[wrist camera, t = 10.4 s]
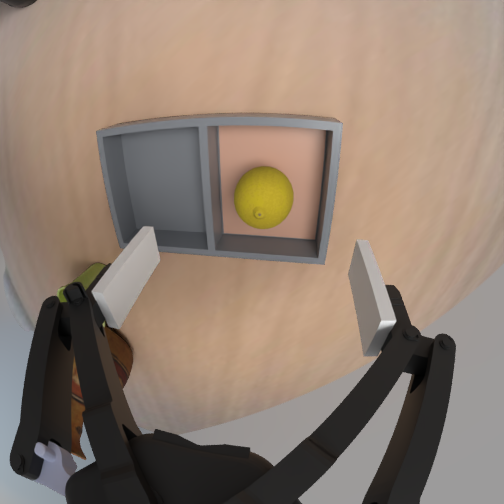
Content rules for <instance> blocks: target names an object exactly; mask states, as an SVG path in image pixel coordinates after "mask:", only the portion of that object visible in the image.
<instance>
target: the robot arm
mask: <svg viewBox="0 0 504 504" xmlns="http://www.w3.org/2000/svg"><path fill="white" fill-rule="evenodd" d="M35 1H36V0H0V2H3V3H6V4H8V5H9V6H12V7H25V6H28V5H30V4H32V3H33V2H35ZM159 262H160V256H159V251H158V247H157V242H156V238H155V233H154V228H153V227H150V226H143V227H142V228H141V230H140V231H139V232H138V233H137V234H136V235H135V237H134V238H133V239H132V240H131V241H130V243H129V244H128V245H127V246H126V247H125V249H124V250H123V251H122V252H121V254H120V255H119V256H118V257H117V259H116V260H115V261H114V262H113V264H111V263H109V264H108V265H107V266H105V267H104V268H103V269H102V270H101V271H100V273H99V275H97V276H96V278H95V279H94V280H93V282H92V283H91V284H90V285H89V287H88V288H87V289H86V291H85V289H84V287H83V284H82V283H81V282H73V283H71V284H69V285H67V286H66V287H65V289H64V290H63V295H64V297H65V299H66V300H67V302H60V300H59V298H58V297H57V296H51V297H49V298H47V299H46V300H45V301H44V302H43V304H42V307H41V310H40V313H39V317H38V320H37V324H36V328H35V332H34V336H33V340H32V344H31V349H30V354H29V358H28V363H27V369H26V375H25V381H24V389H23V397H22V405H21V418H20V424H19V427H18V430H17V434H16V436H15V440H14V443H13V446H12V450H11V453H10V465H11V467H12V469H13V470H14V471H15V472H16V473H17V474H19V475H21V476H23V477H25V478H28V479H30V480H32V481H35V482H37V483H40V484H42V485H45V486H47V487H49V488H50V489H52V490H54V491H56V492H58V493H59V494H61V495H63V496H65V497H66V501H67V504H302V503H301V502H300V501H299V499H298V498H299V497H300V496H301V495H302V494H303V493H304V492H305V491H307V490H308V489H309V488H310V487H311V486H312V485H313V484H314V483H315V482H316V481H317V480H318V479H319V478H320V477H321V476H322V475H323V474H324V473H325V472H326V471H327V470H328V469H329V468H330V467H331V466H332V465H333V464H334V463H335V461H336V460H337V458H338V457H339V456H340V455H341V454H342V453H343V452H344V450H345V449H346V448H347V447H348V446H349V445H350V443H351V442H352V441H353V440H354V439H355V438H356V436H357V435H358V434H359V433H360V432H361V430H362V429H363V428H364V427H365V425H366V424H367V423H368V421H369V420H370V419H371V417H372V416H373V415H374V413H375V412H376V410H377V409H378V408H379V407H380V405H381V404H382V402H383V401H384V399H385V398H386V397H387V395H388V394H389V392H390V391H391V389H392V388H393V386H394V385H395V383H396V382H397V380H398V378H399V377H400V375H401V374H402V372H406V373H410V374H412V376H411V380H410V384H409V387H408V391H407V394H406V397H405V401H404V404H403V407H402V410H401V413H400V416H399V419H398V422H397V425H396V428H395V430H394V433H393V436H392V438H391V441H390V443H389V445H388V448H387V450H386V453H385V455H384V457H383V460H382V462H381V464H380V466H379V468H378V471H377V473H376V475H375V477H374V479H373V481H372V483H371V485H370V487H369V489H368V491H367V493H366V495H365V497H364V500H363V503H362V504H419V502H420V497H421V495H422V492H423V490H424V487H425V485H426V482H427V479H428V477H429V474H430V471H431V468H432V465H433V462H434V459H435V456H436V453H437V449H438V446H439V442H440V439H441V435H442V431H443V427H444V422H445V418H446V413H447V408H448V403H449V398H450V392H451V386H452V379H453V371H454V362H455V351H456V345H455V342H454V340H453V339H452V338H451V337H450V336H448V335H447V334H439V335H437V336H436V337H435V339H432V338H427V337H424V336H422V335H421V333H420V332H419V330H418V329H417V328H416V327H415V326H412V325H411V322H410V319H409V316H408V314H407V311H406V308H405V306H404V302H403V300H402V297H401V294H400V292H399V291H398V289H397V288H396V287H395V286H394V285H385V284H384V281H383V278H382V275H381V273H380V270H379V267H378V265H377V262H376V259H375V257H374V254H373V251H372V249H371V246H370V244H369V241H368V240H359V239H357V240H356V244H355V249H354V253H353V257H352V261H351V265H350V269H349V273H348V276H349V280H350V285H351V289H352V294H353V299H354V304H355V309H356V314H357V319H358V325H359V330H360V336H361V342H362V349H363V355H364V356H378V354H379V352H380V351H382V353H381V354H380V355H379V357H378V358H377V360H376V361H375V362H374V364H373V365H372V366H371V368H370V369H369V370H368V371H367V373H366V374H365V375H364V377H363V378H362V379H361V380H360V381H359V383H358V384H357V385H356V386H355V388H354V389H353V390H352V391H351V392H350V394H349V395H348V396H347V397H346V398H345V399H344V400H343V402H342V403H341V404H340V405H339V406H338V407H337V408H336V409H335V410H334V411H333V413H332V414H331V415H330V416H329V417H328V418H327V419H326V420H325V421H324V422H323V423H322V424H321V425H320V426H319V427H318V428H317V429H316V430H315V431H314V432H313V433H312V434H311V435H310V436H309V437H308V438H306V439H305V440H304V441H302V442H301V443H300V444H299V445H298V446H297V447H296V448H295V449H294V450H293V451H291V452H290V453H289V454H288V455H287V456H286V457H285V458H284V459H282V460H281V461H280V462H279V463H278V464H277V465H276V466H273V465H272V464H271V463H270V462H269V461H267V460H266V459H265V458H263V457H261V456H259V455H257V454H255V453H252V452H250V448H249V447H240V446H233V445H226V444H224V445H206V446H205V445H204V446H200V445H197V444H195V443H193V442H191V441H188V440H186V439H184V438H182V437H181V436H179V435H176V434H172V433H168V432H165V431H161V430H158V429H155V431H154V433H151V434H142V433H141V431H140V430H139V428H138V427H137V425H136V423H135V421H134V418H133V416H132V413H131V411H130V408H129V406H128V403H127V400H126V398H125V395H124V392H123V389H122V386H121V383H120V380H119V377H118V374H117V371H116V368H115V365H114V362H113V358H112V355H111V351H110V348H109V344H108V340H107V337H106V333H105V329H104V327H103V325H102V324H103V323H104V321H105V320H106V322H107V324H108V326H109V327H112V328H116V329H120V327H121V326H122V324H123V322H124V320H125V318H126V317H127V315H128V313H129V311H130V310H131V308H132V306H133V304H134V303H135V301H136V299H137V298H138V296H139V294H140V293H141V291H142V289H143V288H144V286H145V284H146V283H147V281H148V279H149V278H150V276H151V274H152V273H153V271H154V270H155V268H156V266H157V265H158V263H159ZM74 357H75V363H76V369H77V374H78V379H79V384H80V389H81V393H82V397H83V401H84V405H85V411H83V412H82V417H83V421H84V425H85V428H86V432H87V435H88V438H89V441H90V445H91V448H92V451H93V454H94V456H95V459H96V461H95V462H93V463H92V464H90V465H88V466H86V467H85V468H83V469H81V470H79V471H78V472H75V470H76V469H77V465H76V463H75V462H74V460H73V457H72V455H71V446H72V429H71V396H72V375H73V362H74Z"/></svg>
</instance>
